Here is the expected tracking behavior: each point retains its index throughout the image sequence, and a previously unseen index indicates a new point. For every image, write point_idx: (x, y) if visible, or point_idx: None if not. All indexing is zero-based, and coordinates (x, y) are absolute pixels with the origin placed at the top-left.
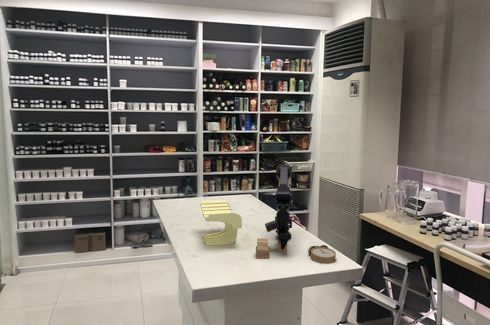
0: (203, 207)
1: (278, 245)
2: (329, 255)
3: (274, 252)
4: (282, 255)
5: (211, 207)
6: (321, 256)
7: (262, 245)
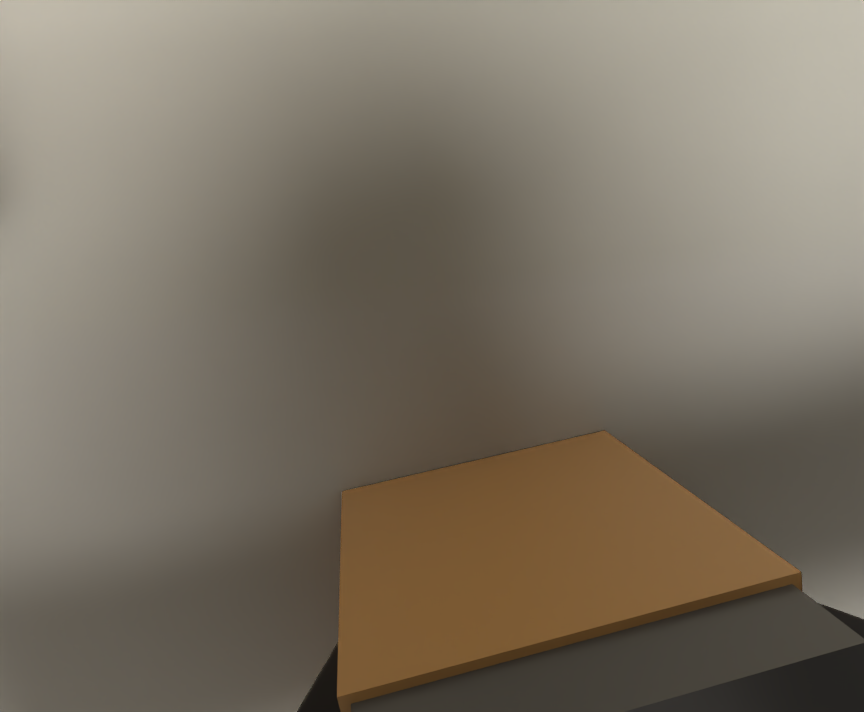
0: None
1: (341, 613)
2: None
3: (205, 401)
4: (7, 663)
5: None
6: None
7: None
